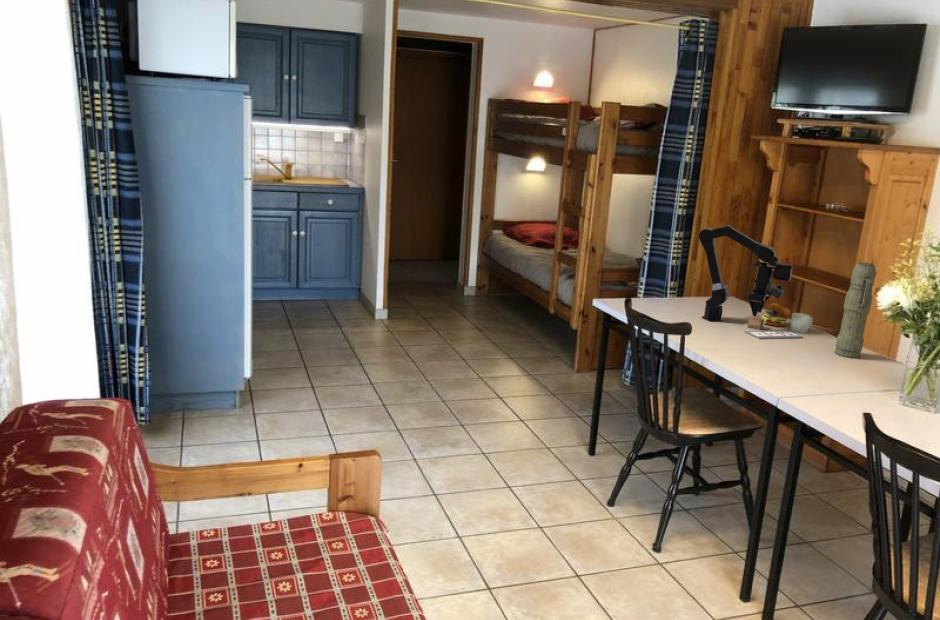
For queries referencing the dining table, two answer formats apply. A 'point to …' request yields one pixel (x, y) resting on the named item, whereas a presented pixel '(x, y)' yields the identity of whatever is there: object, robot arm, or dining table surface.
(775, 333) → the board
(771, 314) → the cheeseburger
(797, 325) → the mug
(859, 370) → the dining table surface
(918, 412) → the dining table surface
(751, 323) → the brown wooden block
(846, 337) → the thermos
